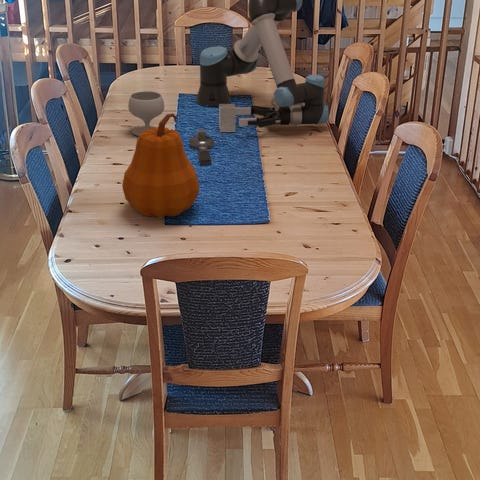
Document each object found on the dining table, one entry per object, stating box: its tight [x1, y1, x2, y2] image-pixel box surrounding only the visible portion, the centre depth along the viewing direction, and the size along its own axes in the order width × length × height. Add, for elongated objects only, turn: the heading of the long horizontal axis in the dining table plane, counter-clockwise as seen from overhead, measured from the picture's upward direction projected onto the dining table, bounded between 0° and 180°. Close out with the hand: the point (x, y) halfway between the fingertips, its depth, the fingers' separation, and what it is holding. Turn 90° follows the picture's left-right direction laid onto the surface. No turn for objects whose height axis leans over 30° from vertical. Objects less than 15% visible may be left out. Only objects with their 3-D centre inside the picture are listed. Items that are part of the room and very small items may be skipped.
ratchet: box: [189, 129, 215, 166], centre depth 278 cm, size 24×9×6 cm, turn 7°
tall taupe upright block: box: [218, 103, 237, 134], centre depth 299 cm, size 6×6×10 cm
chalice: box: [127, 91, 165, 137], centre depth 294 cm, size 14×14×15 cm
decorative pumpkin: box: [121, 113, 201, 219], centre depth 229 cm, size 24×24×30 cm
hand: (236, 116), depth 299 cm, fingers open, 13 cm apart
